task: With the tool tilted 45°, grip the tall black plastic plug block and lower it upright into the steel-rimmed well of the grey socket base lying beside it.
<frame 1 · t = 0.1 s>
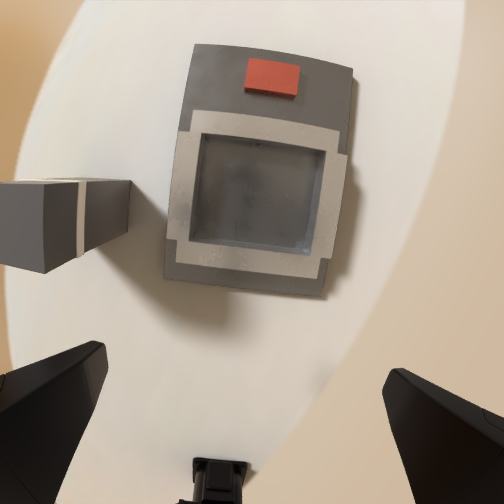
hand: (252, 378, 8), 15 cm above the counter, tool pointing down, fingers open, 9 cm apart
plug block: (101, 203, 21), on the counter
grey socket base: (255, 192, 21), on the counter
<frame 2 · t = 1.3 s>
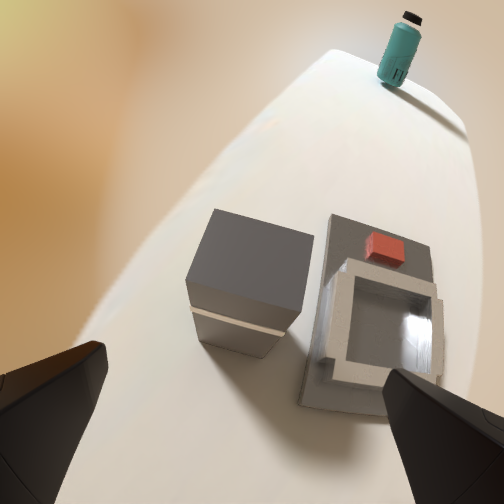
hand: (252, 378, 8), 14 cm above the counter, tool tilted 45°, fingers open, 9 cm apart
plug block: (237, 326, 22), on the counter
beverage bottle: (386, 85, 53), on the counter
grey socket base: (377, 336, 23), on the counter
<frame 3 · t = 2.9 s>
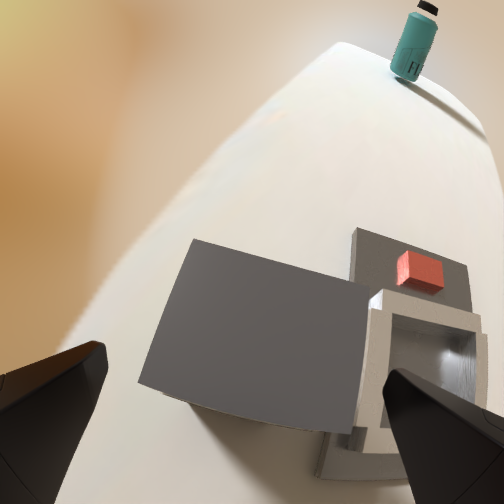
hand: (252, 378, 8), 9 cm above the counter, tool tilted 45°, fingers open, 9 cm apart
plug block: (236, 382, 16), on the counter
beverage bottle: (400, 80, 47), on the counter
grey socket base: (411, 382, 17), on the counter
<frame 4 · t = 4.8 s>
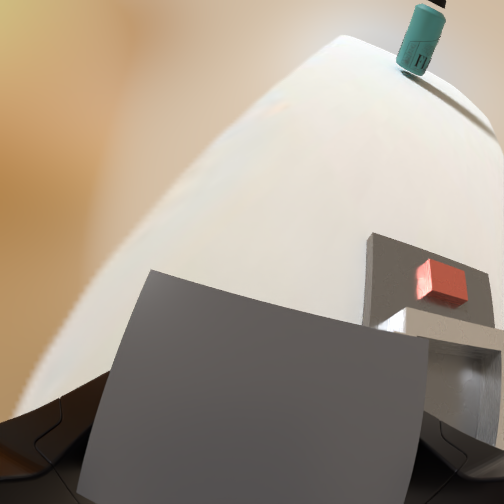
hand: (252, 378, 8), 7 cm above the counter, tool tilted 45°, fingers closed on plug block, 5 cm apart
plug block: (234, 418, 13), on the counter, touching gripper
beverage bottle: (406, 74, 43), on the counter
grey socket base: (431, 408, 13), on the counter
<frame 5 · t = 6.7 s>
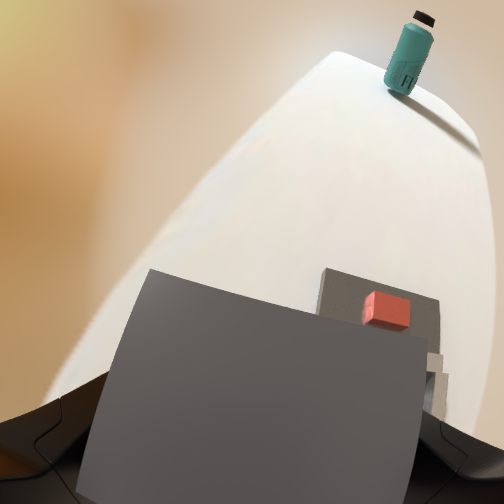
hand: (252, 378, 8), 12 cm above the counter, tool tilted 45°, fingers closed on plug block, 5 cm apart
plug block: (234, 417, 13), point 6 cm above the counter, touching gripper
beverage bottle: (393, 93, 48), on the counter
grey socket base: (369, 415, 18), on the counter
when the fingers open (9 cm above the counter, at t = 9.0 s): plug block drops 1 cm, resting on grey socket base.
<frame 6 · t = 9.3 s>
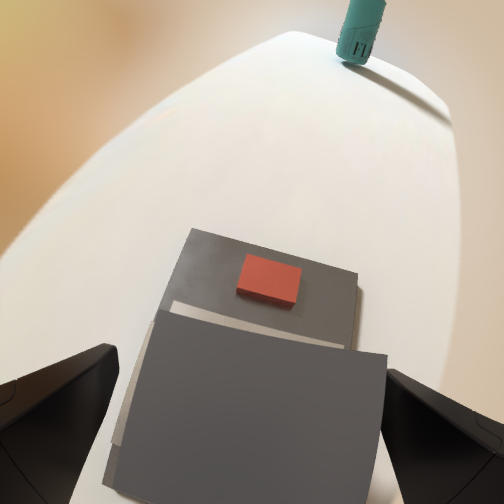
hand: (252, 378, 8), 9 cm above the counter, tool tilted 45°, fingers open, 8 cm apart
plug block: (232, 417, 14), point 1 cm above the counter, touching grey socket base
beverage bottle: (348, 64, 45), on the counter
grey socket base: (232, 416, 15), on the counter
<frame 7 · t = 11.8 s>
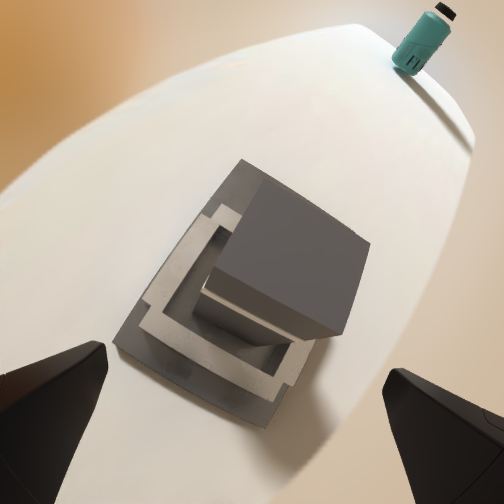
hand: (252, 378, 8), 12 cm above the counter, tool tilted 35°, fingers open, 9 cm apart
plug block: (237, 305, 20), point 1 cm above the counter, touching grey socket base
beverage bottle: (399, 71, 45), on the counter
grey socket base: (235, 307, 21), on the counter
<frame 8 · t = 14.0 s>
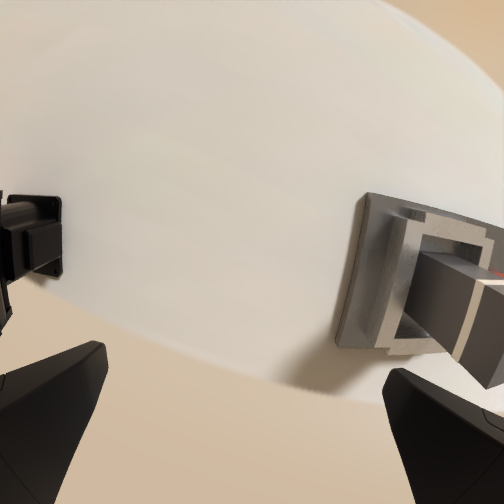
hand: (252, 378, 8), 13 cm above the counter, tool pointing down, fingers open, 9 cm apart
plug block: (429, 282, 20), point 1 cm above the counter, touching grey socket base
grey socket base: (423, 279, 21), on the counter
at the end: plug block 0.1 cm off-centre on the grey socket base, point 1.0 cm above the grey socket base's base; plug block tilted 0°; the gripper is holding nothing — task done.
